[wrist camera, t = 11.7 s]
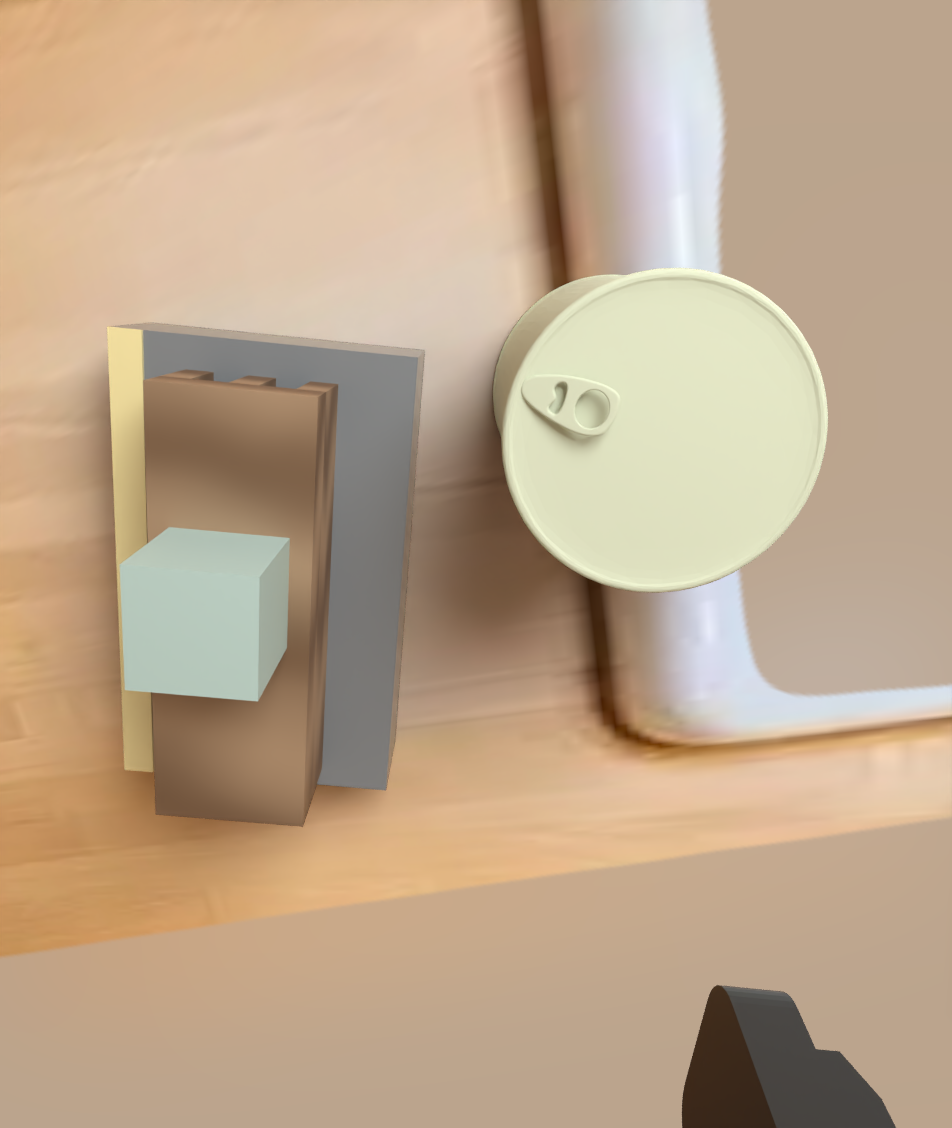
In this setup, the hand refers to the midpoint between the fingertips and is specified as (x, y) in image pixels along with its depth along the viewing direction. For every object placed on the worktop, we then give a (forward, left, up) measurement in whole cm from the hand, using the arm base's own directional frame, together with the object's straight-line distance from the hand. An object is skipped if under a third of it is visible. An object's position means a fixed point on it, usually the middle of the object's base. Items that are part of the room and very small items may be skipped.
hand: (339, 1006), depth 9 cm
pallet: (+4, -7, -24) cm, 25 cm away
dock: (+4, -7, -28) cm, 29 cm away
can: (-4, +6, -28) cm, 29 cm away
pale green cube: (+3, -7, -20) cm, 21 cm away
